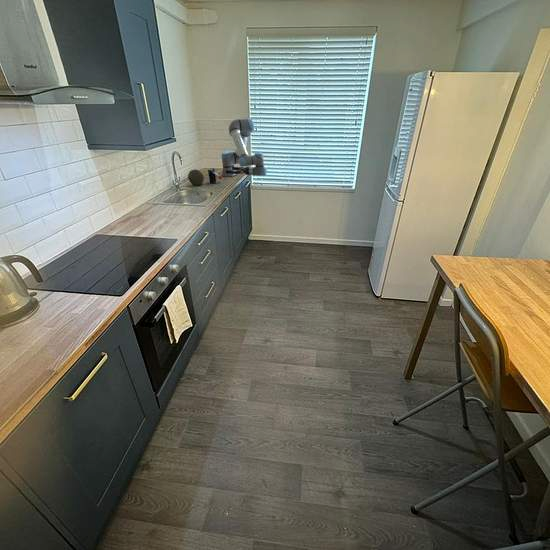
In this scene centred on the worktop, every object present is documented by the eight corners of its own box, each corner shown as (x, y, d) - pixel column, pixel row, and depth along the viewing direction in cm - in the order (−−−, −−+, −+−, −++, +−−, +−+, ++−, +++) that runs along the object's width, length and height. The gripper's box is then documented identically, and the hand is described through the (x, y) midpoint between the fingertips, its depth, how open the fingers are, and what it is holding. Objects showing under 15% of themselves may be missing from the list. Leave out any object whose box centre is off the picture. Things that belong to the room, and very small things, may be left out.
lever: (222, 179, 282) (223, 176, 279) (220, 180, 279) (221, 177, 276) (210, 171, 281) (211, 168, 279) (208, 172, 278) (209, 169, 276)
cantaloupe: (189, 184, 284) (186, 168, 276) (204, 183, 286) (201, 167, 278) (189, 188, 272) (186, 172, 264) (205, 187, 275) (202, 170, 267)
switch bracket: (220, 182, 287) (218, 168, 280) (216, 184, 280) (214, 170, 273) (210, 182, 290) (208, 168, 283) (206, 184, 283) (203, 170, 276)
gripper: (245, 178, 259) (223, 177, 265) (255, 171, 279) (235, 171, 285) (244, 169, 255) (222, 168, 261) (254, 163, 275) (234, 163, 281)
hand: (229, 170), depth 273 cm, fingers open, 13 cm apart
